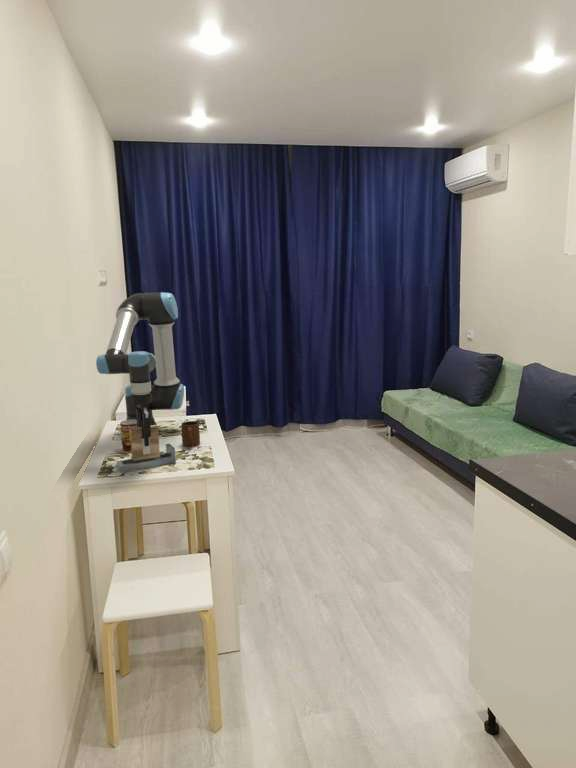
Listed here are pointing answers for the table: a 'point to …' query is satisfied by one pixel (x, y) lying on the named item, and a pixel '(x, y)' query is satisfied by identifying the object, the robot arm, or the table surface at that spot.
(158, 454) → the door panel
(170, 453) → the track
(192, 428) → the mug
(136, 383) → the robot arm
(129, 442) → the canned food
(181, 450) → the table surface
